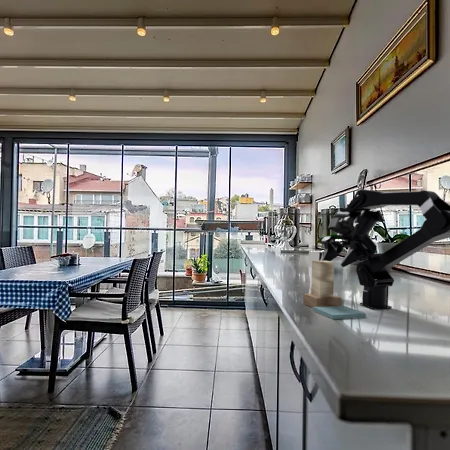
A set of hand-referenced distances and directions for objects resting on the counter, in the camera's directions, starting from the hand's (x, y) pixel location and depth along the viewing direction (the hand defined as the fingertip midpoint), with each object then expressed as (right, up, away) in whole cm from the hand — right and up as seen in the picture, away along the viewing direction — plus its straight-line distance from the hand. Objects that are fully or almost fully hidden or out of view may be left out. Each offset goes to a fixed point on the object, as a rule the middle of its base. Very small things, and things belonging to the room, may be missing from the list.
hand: (331, 265), depth 101 cm
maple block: (-3, -9, 0) cm, 9 cm away
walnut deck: (-3, -12, 0) cm, 12 cm away
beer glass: (+1, -12, +18) cm, 22 cm away
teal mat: (-1, -12, -10) cm, 15 cm away
